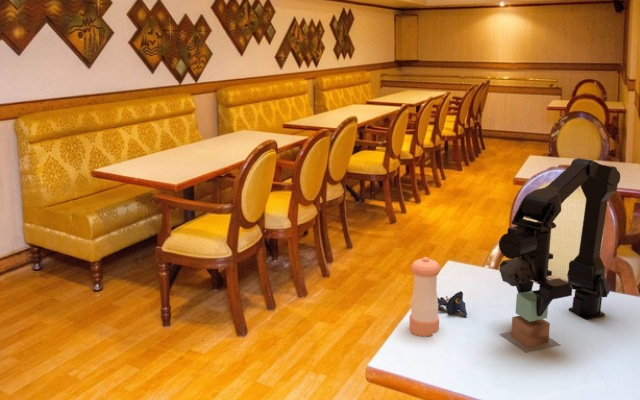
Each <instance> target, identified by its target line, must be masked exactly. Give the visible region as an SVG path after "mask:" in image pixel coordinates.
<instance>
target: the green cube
mask: <svg viewBox="0 0 640 400" xmlns="http://www.w3.org/2000/svg"><path fill="white" fill-rule="evenodd" d="M532 291H533V290H532ZM532 291H528V292H523V293H518V292H517V293H516V299H515V300H516V302H515V314H516V315H517V316H521V317H523V318H524V319H526V320H527V321H529V322H531V321H536V320H540V319H544V320H545V319H548V313H549V311H548V310H549V306H548V307H547V308H546V310H545V311H544V313H543V314H542V316H539V317H538V316H537V310H536V305H537V297H536V295H535V294H534V293H533V292H532Z"/></svg>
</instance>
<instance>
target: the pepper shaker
mask: <svg viewBox="0 0 640 400" xmlns="http://www.w3.org/2000/svg"><path fill="white" fill-rule="evenodd" d="M410 270H411V272H412V273H413V278H414V279H413V291H412V296H411V302H410V303H411V304H410V311H411V312H410V315H409V326H408V329H409V332H410V333H412V334H413V335H415V336H420V337H433V336H434V334H436V333H437V332H438V331H439V330H440V317H439V315H438V314H439V307H438V299H437V297H438V291H437V289H438V288H437V284H438V283H437V280H438V275H439V273H440V272H441V266H440V264H439V263H438V261H436V260H434V259H431V258H429V257H427V256H424V257H423V258H419V259H416V260H414V261H413V263H412V264H411V267H410Z"/></svg>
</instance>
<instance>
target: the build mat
mask: <svg viewBox="0 0 640 400" xmlns="http://www.w3.org/2000/svg"><path fill="white" fill-rule="evenodd" d="M498 335H499V336H501V337H502V338H503V339H505V340H506V341H508V342H509V343H511V344H512V345H514V346H515V347H517V348H518V349H519V350H520V351H522V352H524V353H525V354H528V353H532V352H537V351H542V350H545V349H551V348H554V347H559V346H561V345H562V344H561V343H559V342H558V341H557V340H556V341H555V340H554V339H553V338H551V337H549V340H548V343H544V344H540V345H536V346H531V347H526V346H525V345H523V344H522V343H520V342H519V341H517V340H516V339H514V338H513V337H512V336H511V331H507V332H503V333H499V334H498Z"/></svg>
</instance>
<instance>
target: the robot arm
mask: <svg viewBox="0 0 640 400" xmlns="http://www.w3.org/2000/svg"><path fill="white" fill-rule="evenodd" d="M620 182H621V173H620V171H619V170H618V169H617V167H616V166H612V165H605V164H602V163H601V164H600V163H599V162H597V161H595V160H594V159H587V158H581V157H580V158H579V157H577V158H574V159H573V160H572V161H571V163H570V165H569V166H568V167H567V168H566V169H564V171H562V172H561V173H560V174H559V175H558V176H557V177H556V178H555V179H554V180H553V181H551V182H550V183H549V184H548V185H547V186H544V187H542V188H541V187H540V188H537V189H534V190H532V191H531V192H529V193H528V194H526V195H525V196H524V197H523V199H522V200H521V202H520V204H519V206H518V208H517V210H516V212H515V214H514V216H513V218H512V221H511V225H514V226H511V227H508V228H507V233H504V234H502V236H500V239H499V241H498V247H499V250H500V252H501V254H502V255H503V256H504V257H505V258H506V259H504V260H502V261H501V262H500V263H499V270H498V271H499V274H500V276H501V279H502V281H503V283H507V284H508V285H509V286H511V287H516V289H517V294H518V293H523V292H528V291H532V292H533V293H534V294H535V295H536V297H537V305H536V310H537V316H538V317H539V316H542V314H543V313H544V311H545V310H546V308H547V307H548V308H549V305H550V304H551V302H552V301H554V300H558V299H561V298H566V297H571V296H572V295H573V290H574V296H573V298H572V299H573V300H572V307H568V311H569V312H571V313H573V314H575V315H577V316H578V317H581V318H582V319H584V320H591V319H595V318H600V317H605V316H606V313H605V312H603V311H602V309H601V308H602V301H603V298H607V297H608V295H609V293H610V292H611V285H610V284H611V283H609V281H608V279H607V278H606V275H605V274H606V267H605V265H604V262H603V260H602V258H601V249H602V243H603V237H604V229H605V224H606V223H605V222H606V215H607V208H608V201H609V200H610V199H611V197H613V195H614V194H615V193H616V192H617V190H618V185H619V183H620ZM579 187H580V189H581V191H582V193H583V196H584V198H585V205H584V214H583V221H582V227H581V235H580V242H579V250H578V254H577V255H576V257H574V258H573V259H572V260H570V261H569V262H568V270H567V273H566V275H567V281H566V280H563V279H561V278H559V277H558V278H553V279H548V278H547V277H551V276H553V275H552V273H553V271H552V270H549V261H550V260H553V259H554V254H553V253H551V252H550V248H551V239H552V237H551V236H552V229H556V227H557V224H556V223H555V222H554V221H555V220H556V219H557V217H558V216H559V215H560V213H561V212H562V204H563V203H564V202H565V200H567V198H568V197H570V196H571V195H572V194H573V193H574V192H575V191H576V190H577V189H579ZM525 218H526V219H525ZM534 283H535V284H537V285H539V289H537V290H533V287H534Z"/></svg>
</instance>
